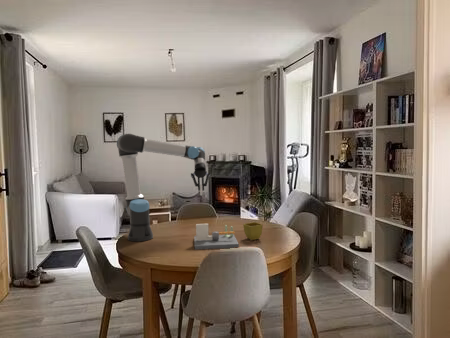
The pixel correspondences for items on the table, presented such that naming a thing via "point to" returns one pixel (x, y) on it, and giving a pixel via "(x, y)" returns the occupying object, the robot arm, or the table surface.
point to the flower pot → (253, 230)
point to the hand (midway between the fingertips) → (201, 194)
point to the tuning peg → (207, 233)
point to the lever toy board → (218, 242)
